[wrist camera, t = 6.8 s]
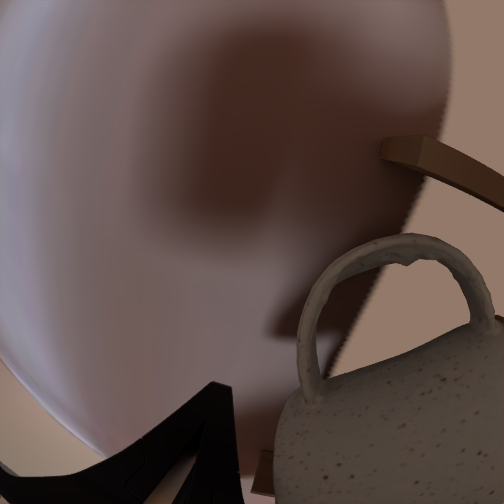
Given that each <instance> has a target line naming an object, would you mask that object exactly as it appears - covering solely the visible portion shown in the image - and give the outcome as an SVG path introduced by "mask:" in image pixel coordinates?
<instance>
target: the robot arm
mask: <svg viewBox="0 0 504 504" xmlns="http://www.w3.org/2000/svg"><path fill="white" fill-rule="evenodd" d="M0 504H245V503H244V499H243V495H242V488H241V481H240V473H239V463H238V453H237V442H236V431H235V419H234V407H233V394H232V387H231V386H228V385H224V384H221V383H218V382H214V381H212V382H210V383H209V384H208V385H206V386H205V387H204V388H203V389H202V390H201V391H199V392H198V393H197V394H196V395H195V396H193V397H192V398H191V399H190V400H189V401H187V402H186V403H185V404H184V405H182V406H181V407H180V408H179V409H177V410H176V411H175V412H174V413H172V414H171V415H170V416H169V417H167V418H166V419H165V420H164V421H162V422H161V423H160V424H158V425H157V426H156V427H154V428H153V429H152V430H151V431H149V432H148V433H147V434H145V435H144V436H143V437H142V439H141V438H140V439H138V440H137V441H136V442H134V443H133V444H131V445H130V446H128V447H127V448H125V449H124V450H122V451H121V452H119V453H117V454H115V455H113V456H112V457H110V458H108V459H106V460H104V461H102V462H100V463H97V464H95V465H93V466H91V467H89V468H87V469H84V470H82V471H80V472H77V473H74V474H70V475H63V476H45V477H20V476H19V475H17V474H16V473H15V472H13V471H12V470H11V469H9V468H8V467H7V466H6V465H4V464H3V463H2V462H0Z"/></svg>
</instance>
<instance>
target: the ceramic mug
mask: <svg viewBox="0 0 504 504" xmlns="http://www.w3.org/2000/svg"><path fill="white" fill-rule="evenodd" d="M418 259H425V260H437V261H438V262H439V263H441V264H443V265H444V266H446V267H447V268H448V269H449V270H450V272H451V273H452V275H453V277H454V279H455V280H456V281H457V282H458V283H459V285H460V287H461V289H462V292H463V294H464V296H465V298H466V300H467V303H468V307H469V310H470V322H469V323H468V324H465V325H462V326H460V327H457V328H455V329H453V330H451V331H449V332H447V333H445V334H443V335H441V336H439V337H437V338H435V339H433V340H431V341H429V342H427V343H425V344H423V345H421V346H419V347H417V348H414V349H412V350H410V351H408V352H406V353H403V354H401V355H398V356H395V357H393V358H389V359H386V360H384V361H380V362H378V363H375V364H372V365H369V366H366V367H363V368H359V369H356V370H354V371H351V372H348V373H344V374H341V375H338V376H335V377H332V378H329V379H325V380H323V378H322V377H321V375H320V369H319V365H318V359H317V351H316V329H317V320H318V318H319V315H320V313H321V310H322V307H323V306H324V305H325V304H326V303H327V300H328V297H329V295H330V293H331V291H332V289H333V287H334V286H335V285H336V284H338V283H339V282H341V281H342V280H344V279H346V278H349V277H351V276H354V275H356V274H358V273H361V272H364V271H367V270H370V269H373V268H376V267H379V266H382V265H388V264H393V263H398V264H402V265H404V266H408V265H410V264H411V263H413V262H414V261H416V260H418ZM494 314H495V310H494V307H493V304H492V300H491V295H490V292H489V290H488V289H487V287H486V284H485V282H484V279H483V277H482V275H481V274H480V272H479V271H478V270H477V269H476V267H475V266H474V265H473V264H472V262H471V261H470V260H469V258H468V257H467V256H466V255H464V254H463V253H462V252H461V251H460V250H459V249H457V248H455V247H453V246H451V245H450V244H448V243H446V242H444V241H442V240H440V239H438V238H436V237H431V236H427V235H422V234H415V233H405V234H397V235H392V236H388V237H383V238H379V239H375V240H373V241H370V242H368V243H365V244H363V245H360V246H358V247H355V248H353V249H352V250H350V251H349V252H347V253H345V254H344V255H342V256H340V257H339V258H337V259H335V260H334V261H333V263H331V264H330V265H329V266H328V267H327V268H326V270H325V271H324V272H323V273H322V275H321V276H320V277H319V279H318V280H317V281H316V283H315V284H314V285H313V287H312V289H311V291H310V294H309V296H308V298H307V301H306V303H305V305H304V308H303V311H302V315H301V318H300V322H299V328H298V330H297V368H298V375H299V381H300V385H301V387H300V388H298V389H296V390H295V391H294V392H293V393H292V394H291V395H290V396H289V398H288V399H287V401H286V403H285V405H284V407H283V410H282V413H281V416H280V419H279V421H278V425H277V429H276V433H275V438H274V458H273V466H272V468H273V482H274V490H275V504H503V503H504V317H502V316H499V315H494Z"/></svg>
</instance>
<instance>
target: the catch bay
mask: <svg viewBox="0 0 504 504" xmlns="http://www.w3.org/2000/svg"><path fill="white" fill-rule="evenodd" d="M379 158H381V159H384V160H386V161H389V162H392V163H395V164H398V165H401V166H403V167H406V168H409V169H412V170H414V171H417V172H419V173H422V174H424V175H427V176H429V177H432V178H434V179H437V180H439V181H441V182H443V183H446V184H448V185H450V186H453V187H455V188H457V189H459V190H461V191H463V192H465V193H468V194H470V195H472V196H474V197H476V198H478V199H480V200H482V201H484V202H485V203H487V204H489V205H491V206H493V207H495V208H497V209H499V210H500V211H502V212H504V176H502V175H501V174H499V173H497V172H496V171H494V170H492V169H491V168H489V167H487V166H486V165H484V164H482V163H480V162H478V161H477V160H475V159H473V158H471V157H469V156H467V155H465V154H464V153H462V152H460V151H458V150H456V149H454V148H452V147H450V146H448V145H446V144H443V143H441V142H439V141H437V140H435V139H432V138H430V137H428V136H426V135H414V136H401V137H389V138H383V143H382V148H381V152H380V157H379ZM273 458H274V453H273V452H268V451H262V452H261V455H260V459H259V463H258V466H257V470H256V474H255V478H254V481H253V485H252V489H251V492H250V493H254V494H259V495H264V496H270V497H275V490H274V482H273V468H272V466H273Z"/></svg>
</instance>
